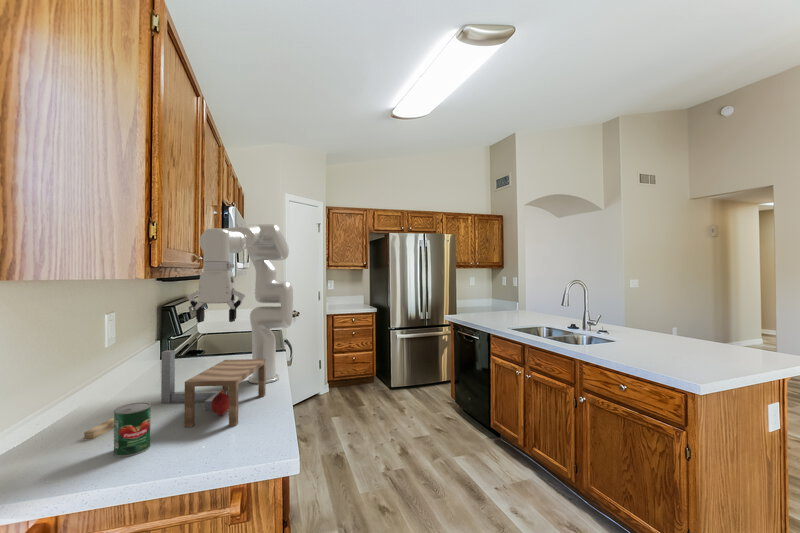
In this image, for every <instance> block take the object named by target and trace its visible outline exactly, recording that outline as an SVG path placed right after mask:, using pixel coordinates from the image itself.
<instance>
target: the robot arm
mask: <svg viewBox="0 0 800 533" xmlns="http://www.w3.org/2000/svg"><path fill="white" fill-rule="evenodd" d="M199 246H200V249H201V250H202V251H203V258H202V259H203V263H202V264H203V268H202V270H203V271H202V272H200V275H199V281H198V286H197V288H198V289H197V290H196V291H193V292H192V293H190V294H189V295H187V299H188V301H189V302H190V305H191V306H192V307H193V308H194V310H195V319H196V320H197V323H203V322H204V321H205V308H204V306H205V305H206V304H227V306H228V307H230V309H229V310H228V322H230V323H233V322H235V321H236V319H237V309H238V308H239V306H241V305H242V304H243V301H244V299H245V298H246V295H245V294H244V293H242V292H240V291H238V290H236V285H235V278H234V272H232V271H231V269H234V268H235V264H234V263H231V260H230V258H231V257H230V256H231V254H239V253H242V252H243V251H244V250H245V249H246V250H247V252H246V253H247V255H248V257H249V259H250V261H251V263H252V264H253V266H254V270H255V289H254V296H255V300H256V302H258V303H260V304H280V306H271V305H269V306H268V305H267V306H264V305H263V306H257V307H254V308H253V309H252V310H251V311H250V313H249V321H250V326H251V339H252V341H251V344H252V345H251V346H252V349H251V351H252V352H251V353H252V354H251V355H252V356H251V358H252V359H266V384H269V383H272V382H276V381H278V380H279V379H280V375H279V374H278V373H277V372H276V370H277V369H276V368H277V367H276V365H277V364H276V363H277V362H276V361H277V360H276V358H277V357H276V356H277V355H276V354H277V353H276V352H277V351H276V347H277V346H276V344H277V343H276V341H277V340H276V336H275V334H274V332H273V331H272V330H271V329H287V328H290V327H291V325H292V322H293V314H294V313H293V311H294V310H293V307H294V289H293V286H292V284H291V283H290V282H288V281H277V269H276V267H275V266H274V264H273V263H272V262H271V261H285V260H286V259H287V258H288V257H289V255H290V254H289V252H290V250H289V245H288V243H287V241H286V238H285V235H284V233H283V232H282V230H281V228H280V227H279V226H278V225H276V224H274V223H261V224H260V223H254V224H247V225H242V226H233V227H227V228H218V227H217V228H215V227H214V228H213V227H210V228H206V229H205V230H203V233H202V234H201V235H200V238H199ZM196 297H197V299H198V301H197V300H196ZM236 297H238V298H237V300H236ZM247 380H248V382H249V383H251V384H258V369H257V370H256V371H254V372H253V373H252V374H251V375H250V376H248V377H247Z"/></svg>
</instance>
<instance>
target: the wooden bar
mask: <svg viewBox="0 0 800 533" xmlns="http://www.w3.org/2000/svg"><path fill="white" fill-rule="evenodd" d="M111 429H112V430H114V416H113V417H112V418H110V419H108V420H106V421H104V422H101V423H100V424H97V425H96V426H93V427H92V428H90V429H88V430H86V431H84V437H83V439H94V438H95V439H97V438H99V437H101V436H102V434H103V435H104V434H106V433H108V432H110V431H112V430H111ZM109 430H110V431H109ZM107 431H108V432H107ZM105 432H106V433H105ZM100 435H101V436H100ZM98 436H99V437H98ZM96 437H97V438H96ZM95 439H94V440H95Z"/></svg>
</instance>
